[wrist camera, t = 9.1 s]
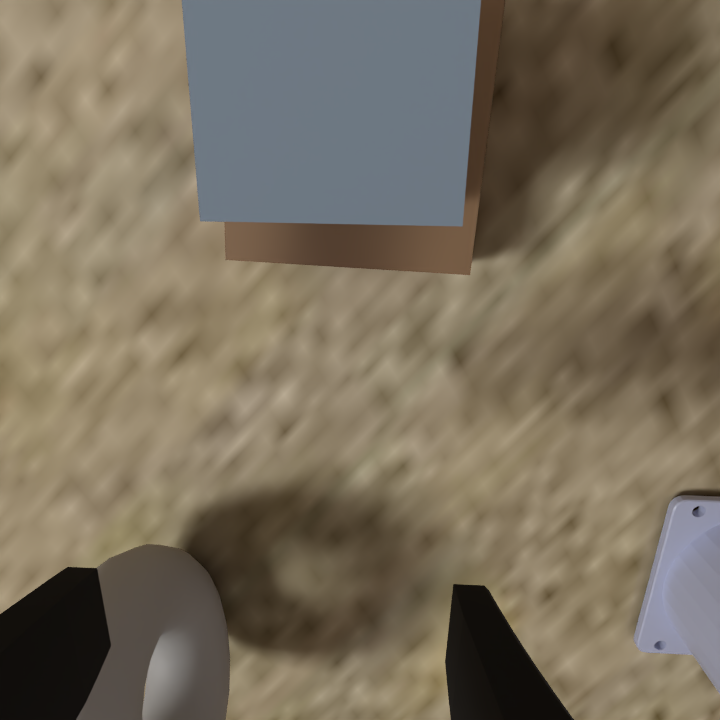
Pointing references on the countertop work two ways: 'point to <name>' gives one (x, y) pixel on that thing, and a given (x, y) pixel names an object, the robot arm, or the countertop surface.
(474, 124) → the walnut block
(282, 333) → the countertop surface
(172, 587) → the donut
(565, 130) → the countertop surface
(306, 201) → the grey block
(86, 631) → the robot arm
